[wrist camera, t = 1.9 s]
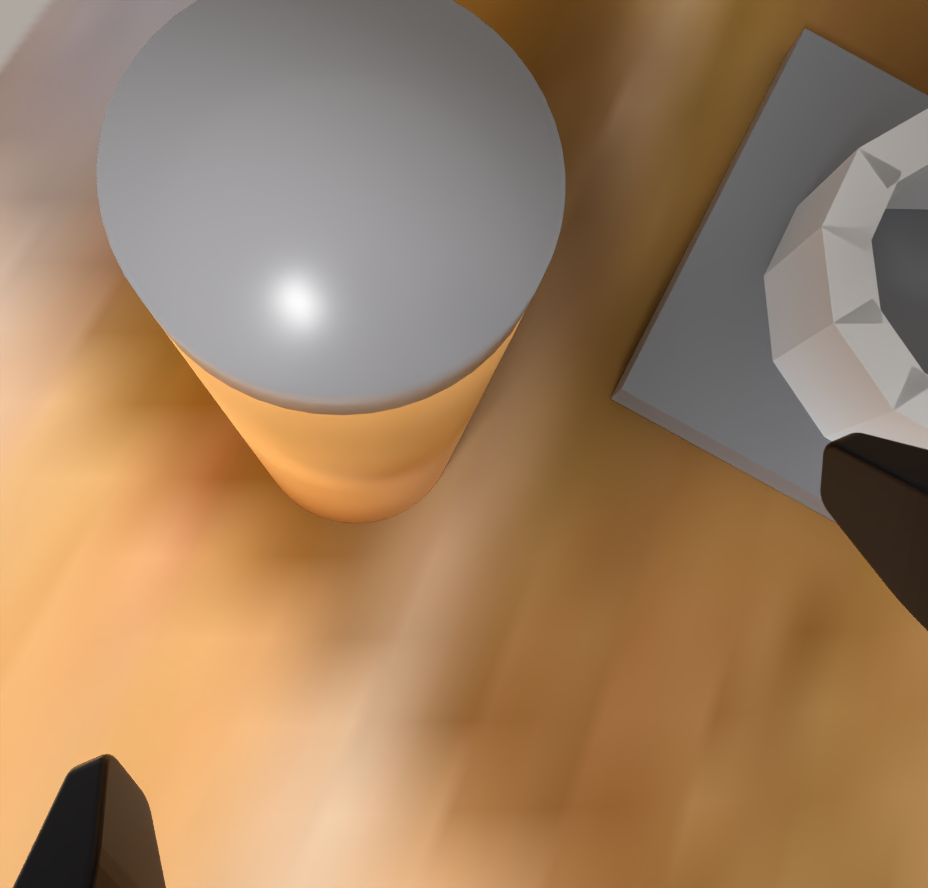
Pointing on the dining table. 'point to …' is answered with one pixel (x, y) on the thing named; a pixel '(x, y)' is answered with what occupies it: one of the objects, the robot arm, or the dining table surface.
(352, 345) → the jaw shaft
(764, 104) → the housing
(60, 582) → the dining table surface
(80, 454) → the dining table surface
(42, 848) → the robot arm
